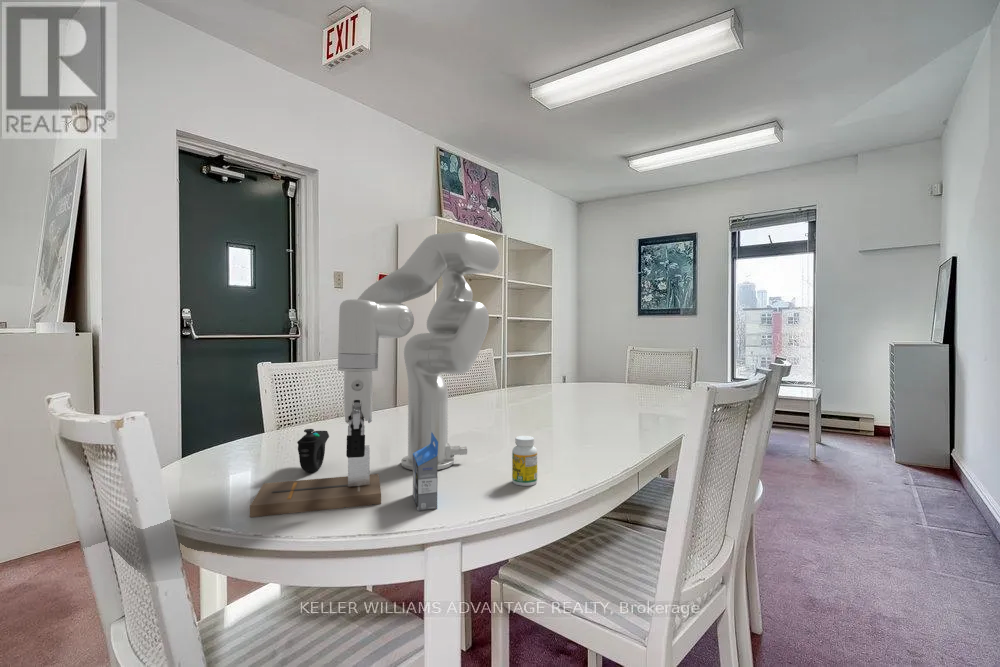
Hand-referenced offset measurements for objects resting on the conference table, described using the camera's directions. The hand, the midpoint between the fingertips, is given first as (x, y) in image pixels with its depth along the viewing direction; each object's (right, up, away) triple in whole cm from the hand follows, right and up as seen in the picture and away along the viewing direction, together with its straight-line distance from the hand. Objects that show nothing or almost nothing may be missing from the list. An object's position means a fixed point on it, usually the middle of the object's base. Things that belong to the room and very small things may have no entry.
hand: (355, 450), depth 90 cm
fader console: (-6, -9, -1) cm, 11 cm away
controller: (-15, -9, +17) cm, 24 cm away
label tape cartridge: (+14, -9, -2) cm, 17 cm away
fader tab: (0, -7, +1) cm, 7 cm away
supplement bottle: (+33, -9, +9) cm, 36 cm away
